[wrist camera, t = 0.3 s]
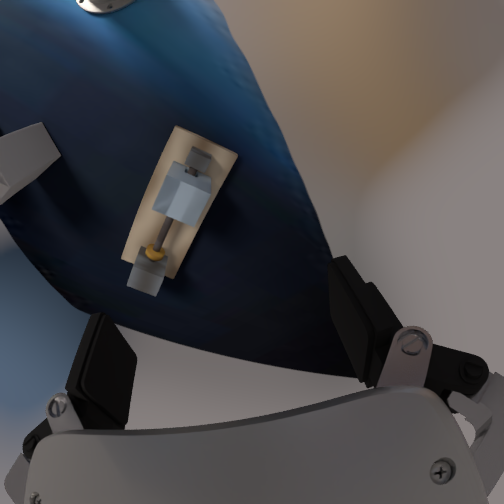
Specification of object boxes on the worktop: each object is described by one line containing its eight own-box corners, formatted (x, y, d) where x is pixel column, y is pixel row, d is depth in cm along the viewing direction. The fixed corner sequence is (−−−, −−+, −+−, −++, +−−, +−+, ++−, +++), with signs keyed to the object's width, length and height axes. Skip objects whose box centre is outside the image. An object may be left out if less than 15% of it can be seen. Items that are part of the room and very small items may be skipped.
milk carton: (62, 155, 37) (-9, 201, 21) (36, 178, 38) (-31, 232, 22) (42, 121, 33) (-36, 152, 17) (17, 147, 34) (-56, 188, 18)
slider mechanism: (123, 253, 48) (112, 279, 41) (176, 125, 38) (169, 132, 31) (174, 274, 51) (170, 301, 45) (237, 153, 41) (242, 166, 35)
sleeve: (160, 190, 41) (151, 209, 35) (173, 160, 39) (166, 174, 33) (196, 206, 43) (194, 227, 37) (211, 177, 41) (211, 194, 35)
